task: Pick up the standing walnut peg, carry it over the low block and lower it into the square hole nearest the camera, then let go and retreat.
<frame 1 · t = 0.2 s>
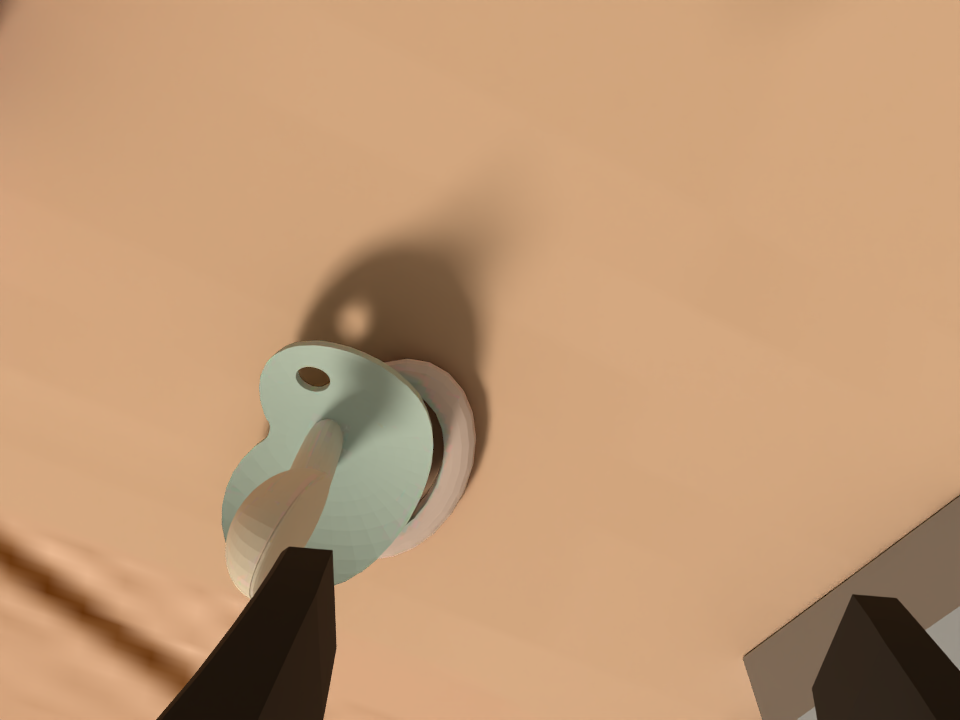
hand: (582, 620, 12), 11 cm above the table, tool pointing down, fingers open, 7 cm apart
pacifier: (364, 441, 24), on the table
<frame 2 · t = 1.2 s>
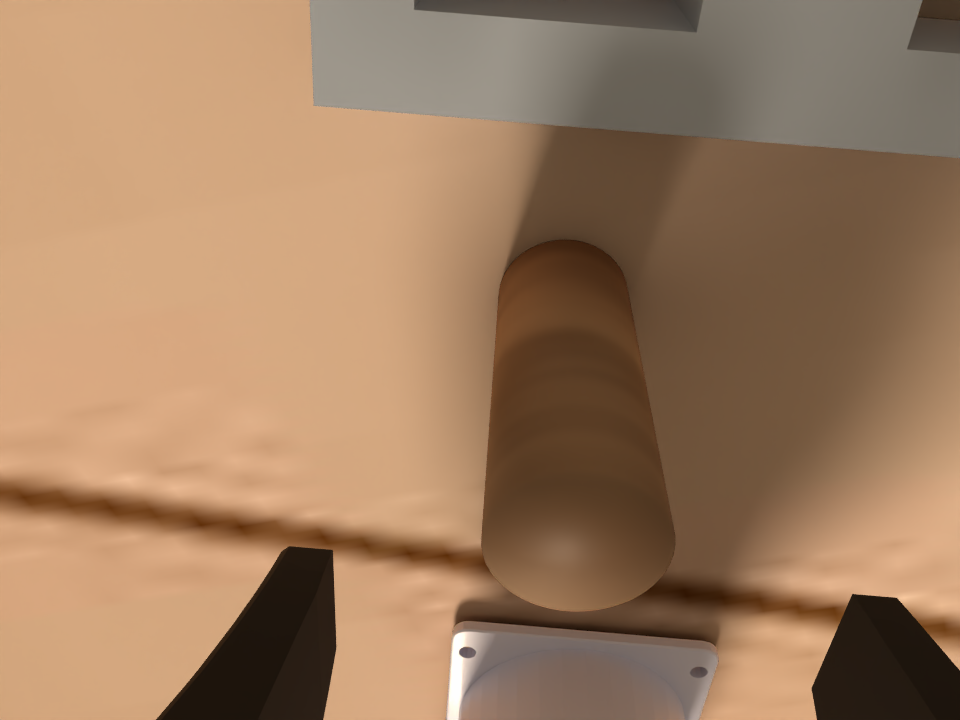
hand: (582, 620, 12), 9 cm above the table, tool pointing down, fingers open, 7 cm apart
peg: (562, 298, 20), on the table
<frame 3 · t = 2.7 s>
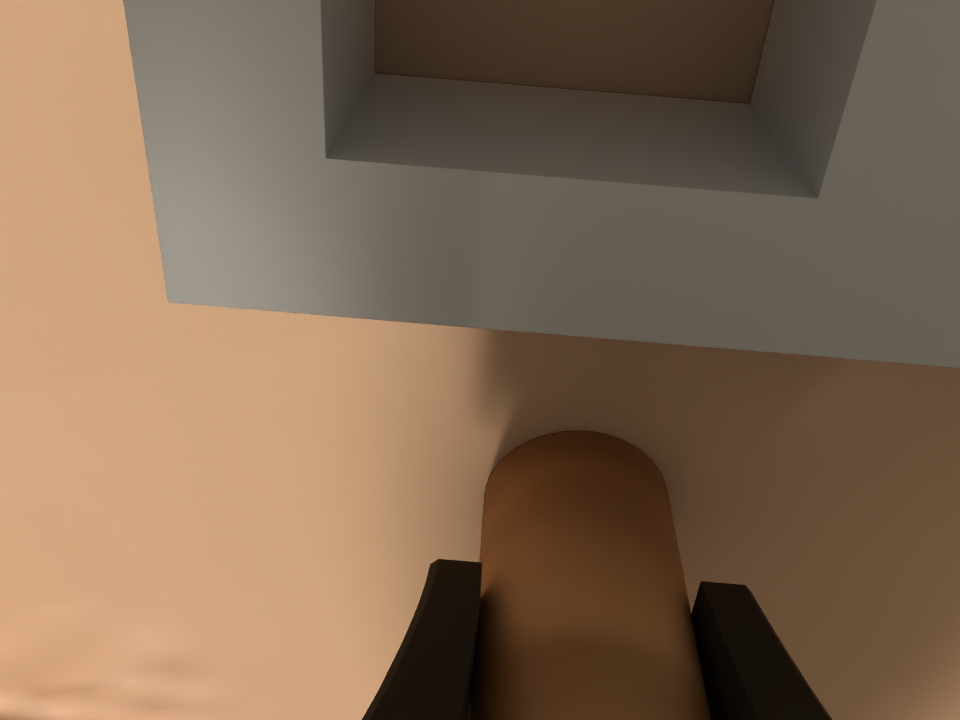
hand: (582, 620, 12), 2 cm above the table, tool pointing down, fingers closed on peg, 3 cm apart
peg: (575, 503, 14), on the table, touching gripper
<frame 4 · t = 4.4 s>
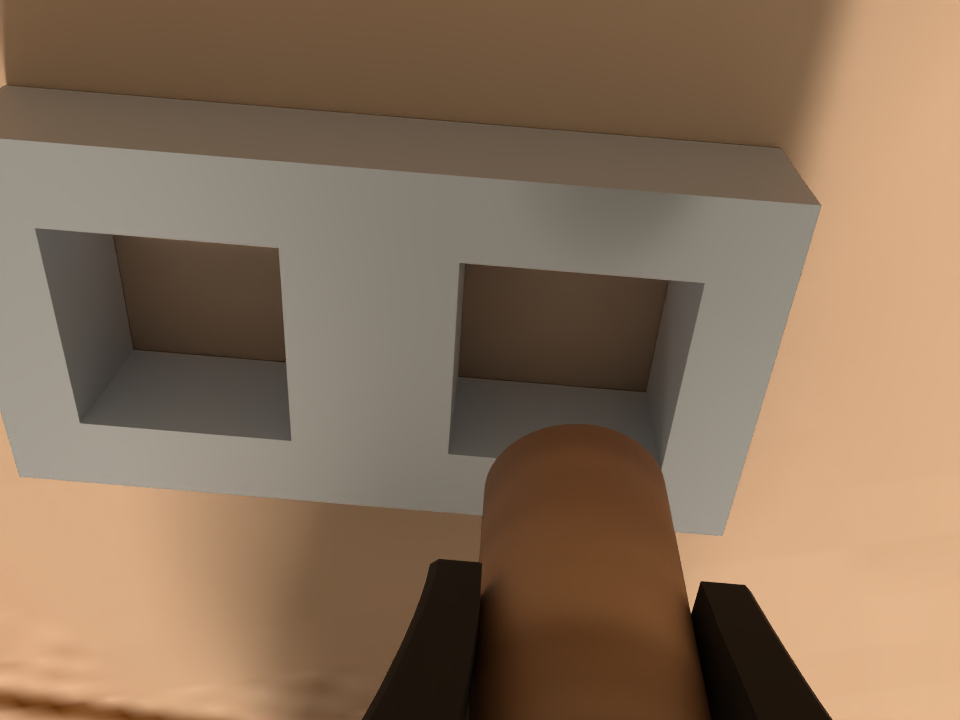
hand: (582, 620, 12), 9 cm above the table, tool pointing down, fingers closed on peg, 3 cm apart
peg: (574, 496, 14), point 7 cm above the table, touching gripper
hole block: (389, 288, 20), on the table
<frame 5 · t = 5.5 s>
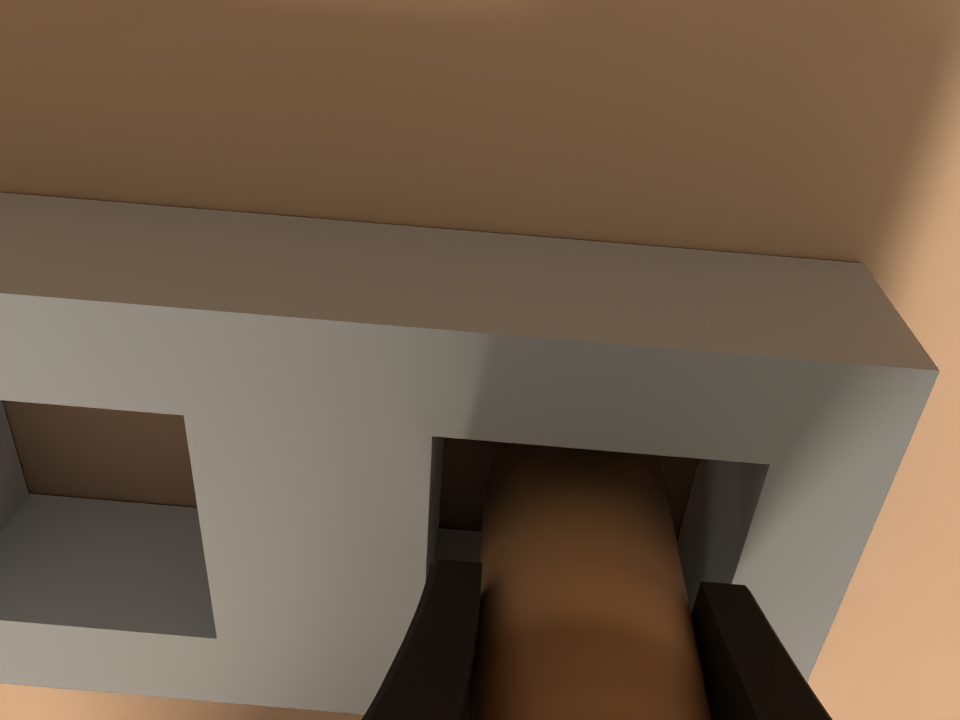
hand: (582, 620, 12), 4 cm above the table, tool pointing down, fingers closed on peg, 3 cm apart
peg: (574, 495, 14), point 1 cm above the table, touching gripper
hole block: (349, 426, 16), on the table
when the fingers open (4 cm above the table, at t = 6.2 s): peg drops 1 cm, resting in hole block.
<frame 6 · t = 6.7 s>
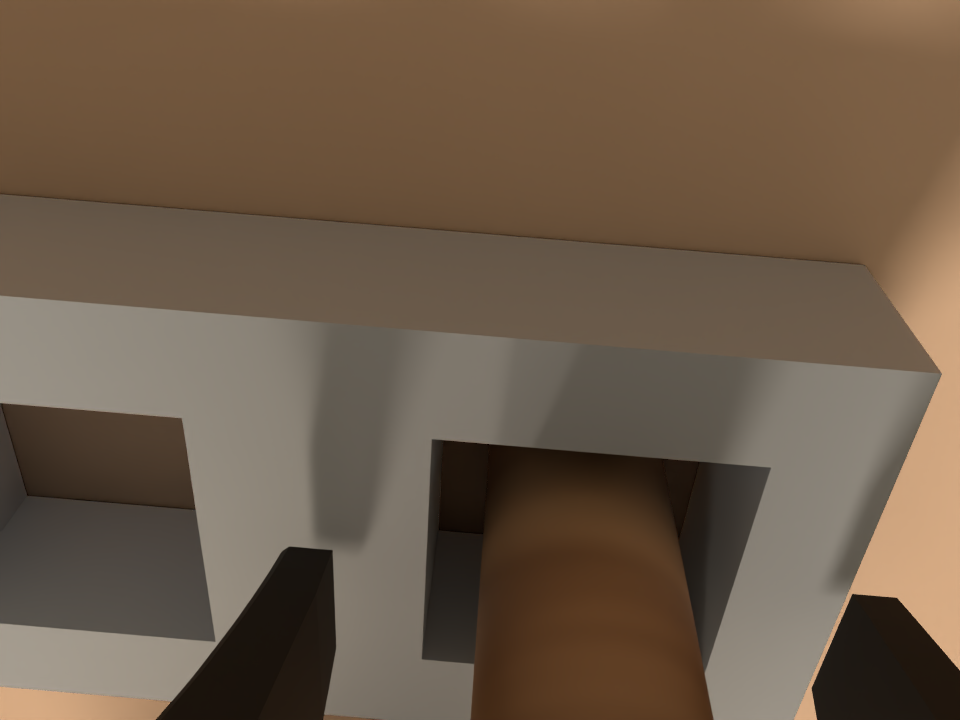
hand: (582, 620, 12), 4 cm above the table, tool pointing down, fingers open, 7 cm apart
peg: (573, 447, 16), resting in hole block
hole block: (348, 428, 16), on the table
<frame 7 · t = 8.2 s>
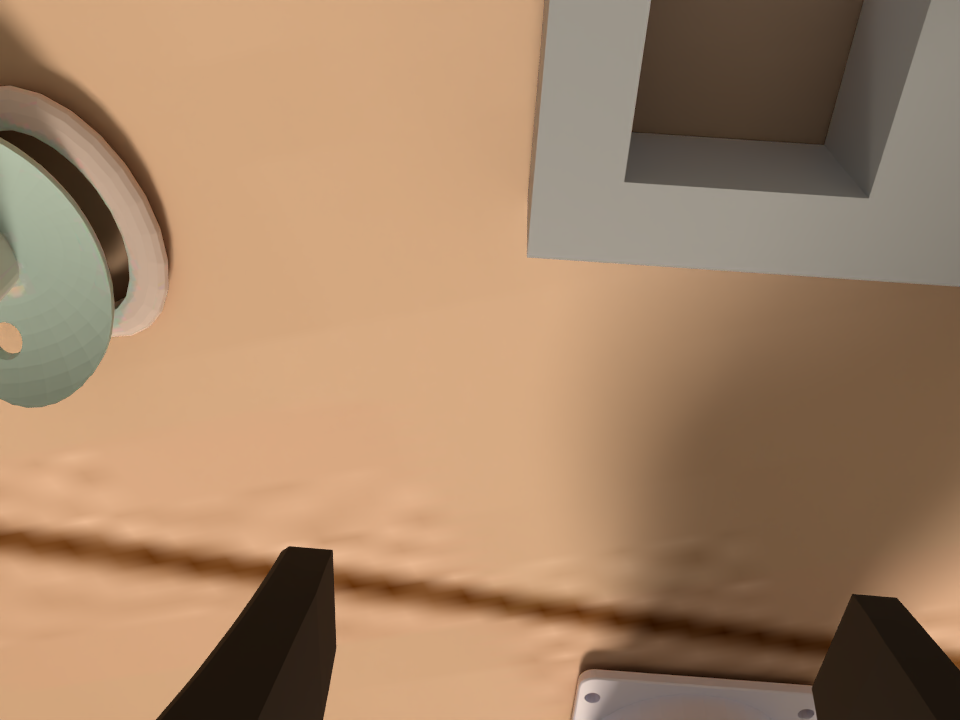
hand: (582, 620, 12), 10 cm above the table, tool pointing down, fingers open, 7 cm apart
pacifier: (49, 218, 21), on the table
hole block: (938, 39, 18), on the table
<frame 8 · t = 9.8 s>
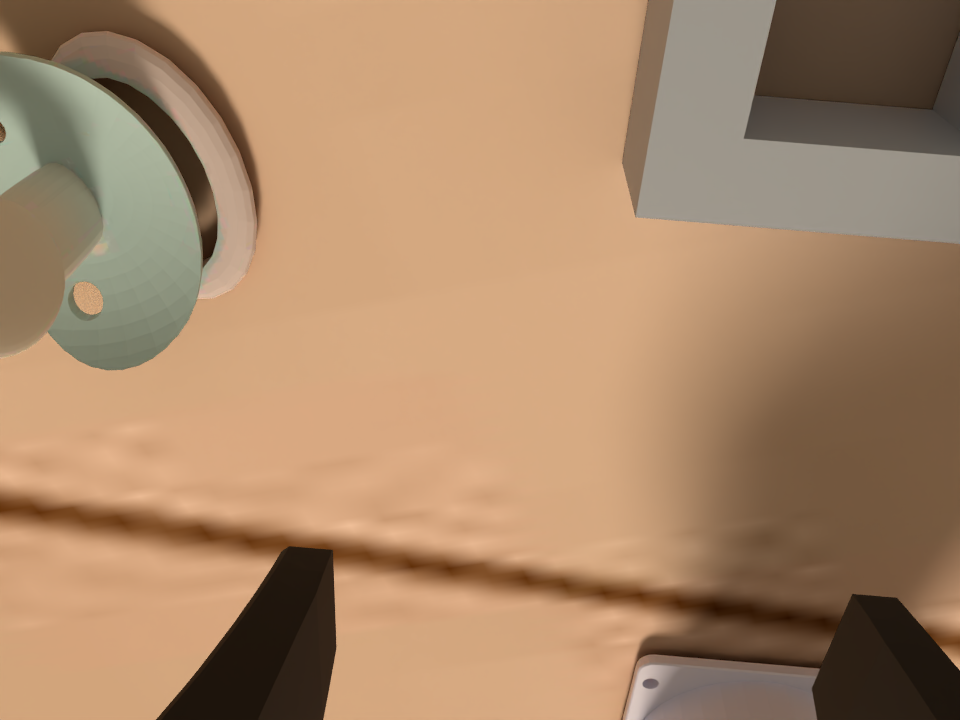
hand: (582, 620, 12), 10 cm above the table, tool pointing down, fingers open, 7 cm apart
pacifier: (133, 174, 20), on the table
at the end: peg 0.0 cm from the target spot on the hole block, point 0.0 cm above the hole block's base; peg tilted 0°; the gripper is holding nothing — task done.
